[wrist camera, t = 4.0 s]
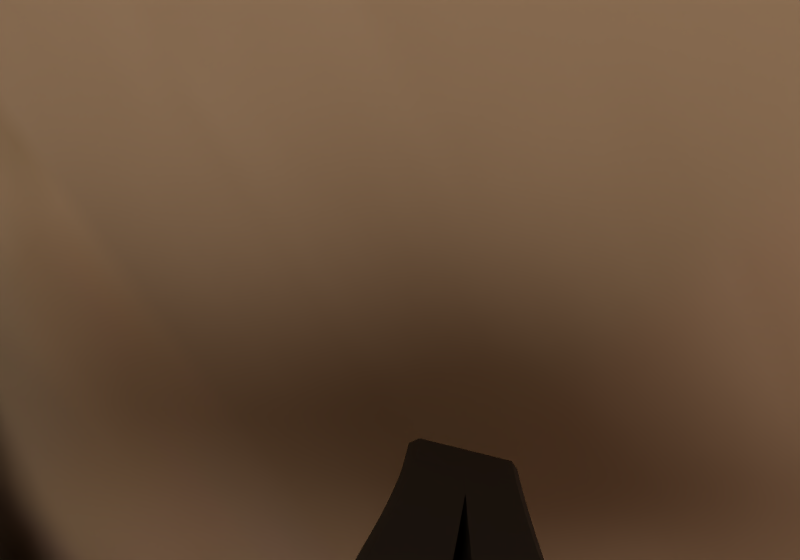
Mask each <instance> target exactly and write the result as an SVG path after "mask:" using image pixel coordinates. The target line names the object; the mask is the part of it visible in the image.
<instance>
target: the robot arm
mask: <svg viewBox="0 0 800 560" xmlns="http://www.w3.org/2000/svg"><path fill="white" fill-rule="evenodd" d="M356 560H544V558H543V555H542V552H541V549H540V546H539V543H538V540H537V537H536V534H535V531H534V528H533V525H532V522H531V519H530V515H529V512H528V509H527V505H526V502H525V498H524V495H523V491H522V487H521V484H520V480H519V476H518V471H517V469H516V467H515V466H514V464H513V463H512V461H509V460H505V459H500V458H496V457H492V456H488V455H484V454H480V453H476V452H472V451H468V450H464V449H460V448H456V447H452V446H448V445H444V444H440V443H436V442H432V441H428V440H424V439H417V440H415V441H413V442H410V443H409V445H408V449H407V453H406V456H405V460H404V464H403V468H402V471H401V473H400V476H399V478H398V481H397V483H396V485H395V488H394V490H393V492H392V494H391V496H390V498H389V500H388V502H387V504H386V506H385V508H384V510H383V512H382V514H381V516H380V518H379V520H378V522H377V523H376V525H375V527H374V528H373V530H372V532H371V534H370V535H369V537H368V539H367V541H366V542H365V544H364V546H363V548H362V549H361V551H360V553H359V555H358V556H357V558H356Z"/></svg>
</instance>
